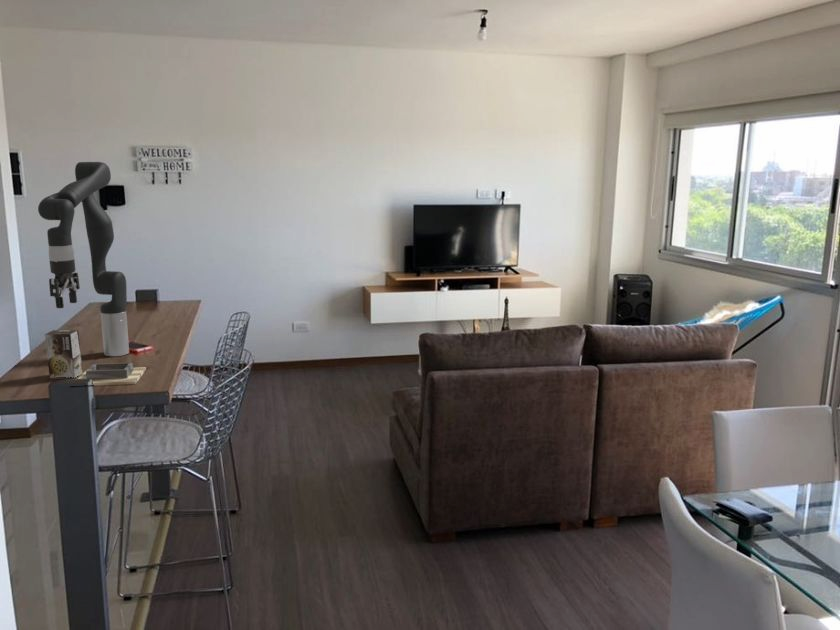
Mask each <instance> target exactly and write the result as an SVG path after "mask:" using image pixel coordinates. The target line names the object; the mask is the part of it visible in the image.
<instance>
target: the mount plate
mask: <svg viewBox="0 0 840 630" xmlns="http://www.w3.org/2000/svg"><path fill="white" fill-rule="evenodd" d="M146 370H147V367H146V366H144V367H143V366H142V367H141V366H140V367H134V363H133V362H114V363H111V362H110V363H107V362H105V363H93V364H92V365H91V366H90V367H89V368H88V369H85V371H84V372H83V374H81V375H79V376H78V377H77V379H92V380H93V385H94V386H95V387H97V386H98V387H100V386H119V385H120V386H121V385H122V386H124V385H136V384H137V383H138V382H139V380H140V379H141V377H142V376H143V375H144V373H145V372H146ZM94 386H93V387H94Z"/></svg>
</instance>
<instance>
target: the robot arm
mask: <svg viewBox="0 0 840 630" xmlns="http://www.w3.org/2000/svg"><path fill="white" fill-rule="evenodd" d="M74 174H75V181H72V182H70V183H68V184H67V185H65V186H64V187H63V188H62V189H60V190H59V191H58V192H56V193H53V194H51V195H48V196H46V197H44V198H43V199H42V200H41V201H40V202H39V204H38V208H37V211H38V214H39V216H40V217H41V218H42V219H43V220H46V221H60V222H59V224H58V226H54V227H50V228H49V229H47V233H46V234H47V244H48V260H49V268H50V273H51V274H53V275H54V278H49V279H48V282H49V284H48V286H49V296H50V297H53V298H54V301H55V307H56V308H57V309H63V308H64V297H63V295H64V292H66V290H67V291H68V298H69V303H70V304H76V303H78V299H77V298H78V297H77V293H78V290H80V279H79V274H78V272H76V261H75V260H76V259H75V253H74V252H75V251H74V248H73V244H72V243H73V239H72V228H73V222H74V216H75V208H76V207H78V205H80V204H81V203H82V205H81V206H82V210H83V215H84V222H85V230H86V235H87V240H88V245H89V251H90V253H89V254H90V259H91V273H92V275H91V276H92V283H93V289H94V290H95V292H96V293H97V294H99V295H104V296H105V295H108V296H111V300H110V301H108V302H106V303H103V304H101V305H100V307H99V308H100V309H99V311H100V319H101V320H100V322H101V333H102V335H101V336H102V345H103V346H102V347H103V355H104V356H106V357H121V356H125V355H127V354H129V353H130V347H129V333H128V332H129V331H128V330H129V329H128V319H127V318H128V317H127V304H128V299H127V298H128V297H127V293H128V291H127V279H126V276H125V274H124V273H123V272H122V271H115V270H113V271H111V270H110V271H108V270H107V268H106V267H107V265H106V259H107V255H108V253H109V251H110V249H111V247H112V245H113V242H114V239H115V234H114V227H113V221H112V219H111V218H110V216H109V214H108V213H107V211H105V210H104V208H103V207H102V206H101V204H99V202H98V201H97V199H96V197H95V195H94V193H96V192H97V191H99V190H101V189H103V188H105V187H107V186H108V185H109V184H110V182H111V176H112V174H111V169H110V167H109V166H108V164H106V163H105V162H101V161H79V162H77V163H76V164H75V168H74Z"/></svg>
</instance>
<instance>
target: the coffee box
mask: <svg viewBox="0 0 840 630" xmlns="http://www.w3.org/2000/svg"><path fill="white" fill-rule="evenodd" d="M79 334H80V333H79V329H61V330H60V329H59V330H58V329H56V330H55V329H54V330H51V331H49V332H47V333H45V334H44V339H45V350H46V355H47V356H46V357H47V364H48V365H47V366H48V367H47V368H48V375H49V376H50V377H66V378H65V379H76V378H78V377H80V376H81V375H82V374H83V373H84V372H83V364H82V363H83V362H82V353H81V344H80V335H79ZM77 376H78V377H77ZM68 377H69V378H68ZM70 377H72V378H70ZM73 377H74V378H73ZM75 377H76V378H75Z"/></svg>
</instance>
